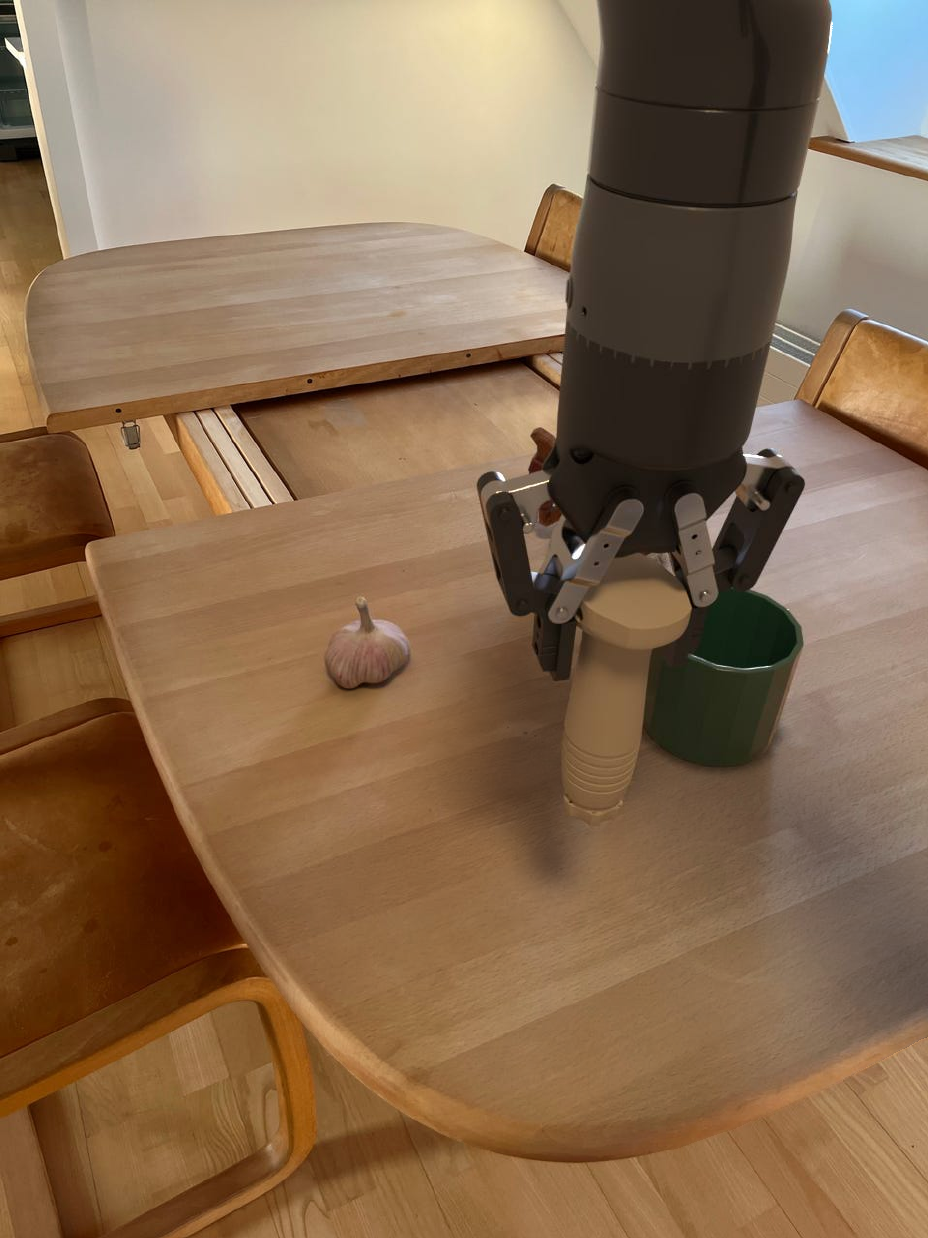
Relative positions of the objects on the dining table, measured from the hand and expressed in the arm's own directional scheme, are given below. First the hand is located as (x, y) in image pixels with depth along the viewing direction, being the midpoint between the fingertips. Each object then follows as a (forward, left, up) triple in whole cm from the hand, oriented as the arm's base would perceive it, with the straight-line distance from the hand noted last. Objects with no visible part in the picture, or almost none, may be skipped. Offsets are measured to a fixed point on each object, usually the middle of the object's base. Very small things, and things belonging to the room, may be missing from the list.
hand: (613, 661), depth 45 cm
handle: (0, 0, -11) cm, 11 cm away
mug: (+44, -16, -26) cm, 54 cm away
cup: (+19, -18, -25) cm, 37 cm away
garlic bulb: (+30, +9, -26) cm, 41 cm away
